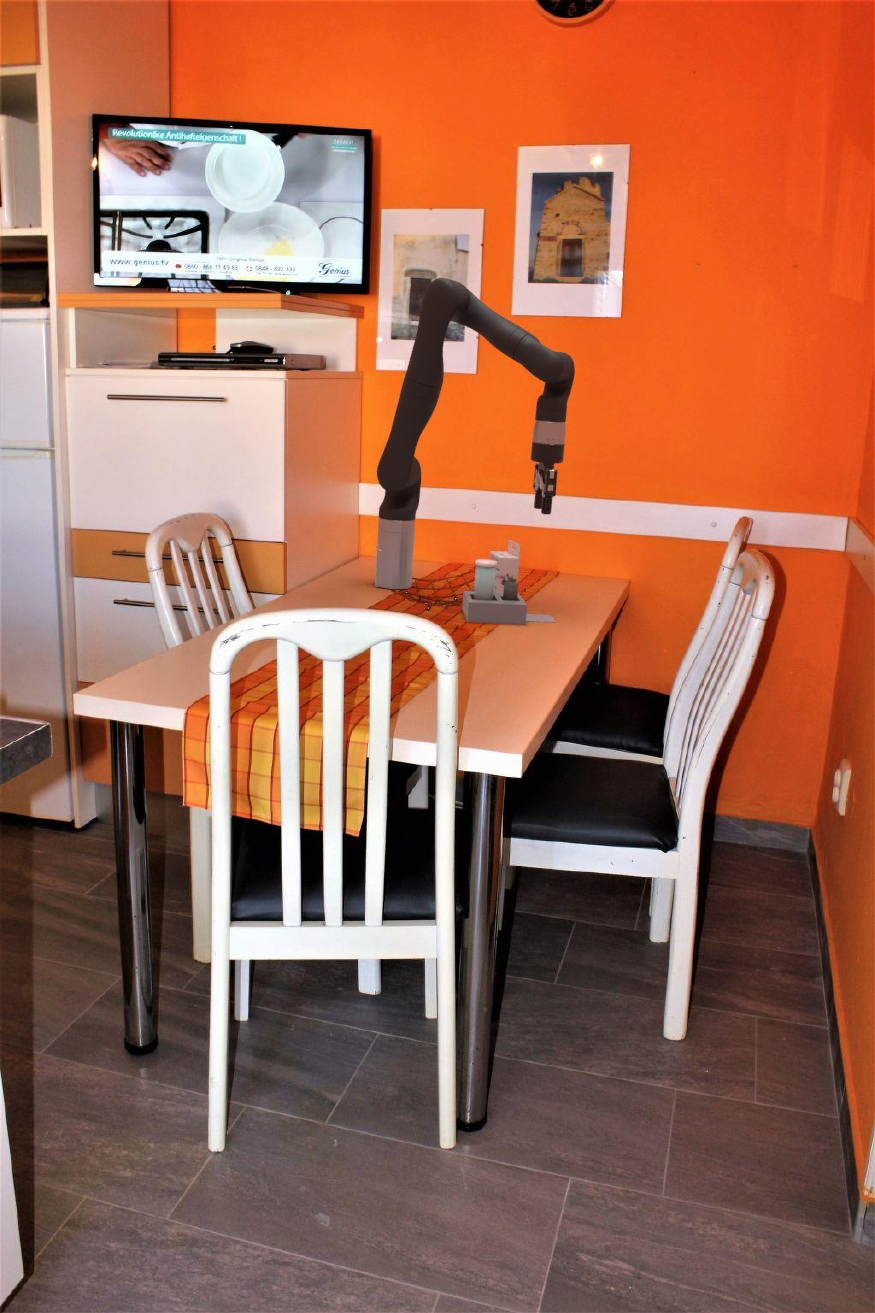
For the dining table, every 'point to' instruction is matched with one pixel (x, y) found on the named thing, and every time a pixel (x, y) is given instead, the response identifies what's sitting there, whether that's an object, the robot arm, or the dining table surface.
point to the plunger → (510, 591)
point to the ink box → (506, 566)
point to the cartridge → (484, 579)
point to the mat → (539, 618)
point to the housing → (494, 609)
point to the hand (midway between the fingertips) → (542, 511)
